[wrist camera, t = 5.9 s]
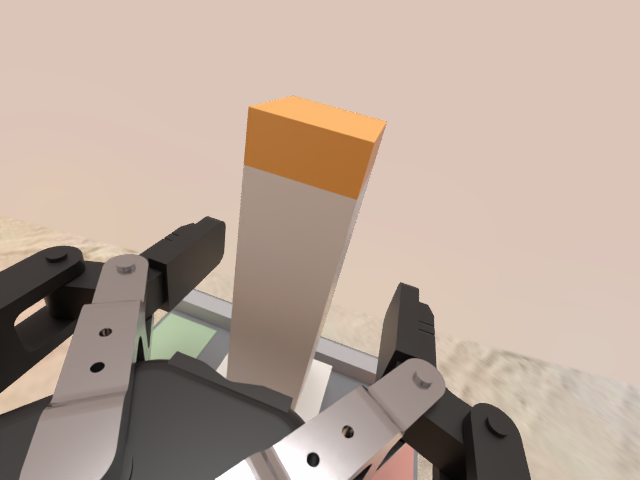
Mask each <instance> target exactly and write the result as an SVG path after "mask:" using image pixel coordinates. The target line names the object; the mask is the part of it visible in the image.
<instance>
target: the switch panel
mask: <svg viewBox="0 0 640 480" xmlns="http://www.w3.org/2000/svg"><path fill="white" fill-rule="evenodd" d="M231 315H232V303H231V302H228V301H225V300H223V299H220V298H217V297H215V296H212V295H209V294H207V293H204V292H201V291H199V290H196V289H193V290H192V291H191V292H190V293H189V294H188V295H187V296H186V297H185V298H184V299H183V300H182V301H181V302H180V303H179V304H178V305H177V306H176V307H175V308H174V309H173V310H172V311H171V312H168V313H167V314H166V315H165V316H164V317H163V318H162V319H161V320H160V321H159V322H158V323H157V324H156V325H155V326H154V327H153V334H152V346H151V360H154V359H169V360H170V359H171V357H172V356H173V355H174V354H175V353H176V352H177V351H179V352H181V353H183V354H186V355H188V356H191V357H193V358H196V359H198V360H201V361H203V362H205V363H206V364H208V365H209V366H210V367H212V368H213V369H214V370H215V371H216V370H217V369H218V367H219V366H220V364H221V363H222V361H223V360H224V358H225V357H226V355H227V354H228V352H229V340H230V327H231ZM314 359H315V360H318V361H320V362H323V363H325V364H328V365H331V366H332V369H331V373H330V376H329V380H328V383H327V386H326V390H325V393H324V397H323V400H322V403H321V407H320V410H319V414H320V413H321V412H323V411H324V410H325V409H327V408H328V407H330V406H331V405H333V404H334V403H336V402H337V401H338V400H340V399H341V398H343V397H344V396H346V395H347V394H349V393H350V392H351V391H353V390H354V389H356V388H357V387H359V386H365V387H366V388H368V387H370V386H371V385H373V384H374V383H375V378H376V371H377V364H378V358H377V357H375V356H372V355H369V354H367V353H364V352H361V351H359V350H356V349H353V348H351V347H348V346H345V345H343V344H340V343H337V342H335V341H332V340H329V339H327V338H324V337H321V336H320V339H319V343H318V346H317V349H316V352H315V356H314ZM371 480H417V451H416V450H414V449H413V448H412V447H411V446H409V445H408V444H406V445H405V446H404V447H403V448H402V449H401V450H400V451H399V452H398V453H397V454H396V455H395V456H394V457H393V458H392V459H391V460H390V461H389V462H388V463H387V464H386V465H385V466H384V467H383V468H382V469H381V470H380V471H379V472H378V473H377V474H376V475H375V476H374V477H373V478H372V479H371Z"/></svg>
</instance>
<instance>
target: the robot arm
mask: <svg viewBox="0 0 640 480" xmlns="http://www.w3.org/2000/svg"><path fill="white" fill-rule="evenodd" d="M225 228H226V226H225V223H224V222H223V221H220V220H217V219H214V218H211V217H208V216H207V217H205V218H203V219H202V220H201V221H199V222H198V223H196V224H194V223H191V224H188V225H185V226H182V227H180V228H178V229H177V230H175V231H174V232H172V234H169V235H168V236H166V237H165V239H162V240H161V241H159V242H158V243H156V244H155V245H153V246H152V247H150V248H149V249H147V250H146V251H144V252H143V253H141V254H140V255H134V254H125V255H120V256H116V257H113V258H111V259H110V260H108V261H107V262H106V263H102V262H93V261H84V259H83V255H82V252H81V251H80V250H79V249H78V248H75V247H71V246H56V247H51V248H47V249H44V250H42V251H40V252H38V253H36V254H34V255H32V256H30V257H28V258H26V259H24V260H22V261H20V262H18V263H16V264H15V265H13V266H11V267H9V268H7V269H5V270H3V271H1V272H0V393H1V392H2V391H4V390H5V389H6V388H7V387H8V386H10V385H11V384H12V383H13V382H15V381H16V380H17V379H18V378H20V377H21V376H22V375H23V374H24V373H26V372H27V371H28V370H29V369H31V368H32V367H33V366H34V365H35V364H37V363H38V362H39V361H40V360H42V359H43V358H44V357H45V356H47V355H48V354H49V353H50V352H51V351H53V350H54V349H55V348H56V347H58V346H59V345H60V344H61V343H62V342H64V341H65V340H66V339H67V338H69V337H70V336H71V335H72V334H73V337H72V340H71V343H70V346H69V349H68V352H67V355H66V358H65V361H64V364H63V367H62V370H61V373H60V377H59V380H58V383H57V386H56V389H55V392H54V394H53V395H50V396H48V397H45V398H43V399H40V400H37V401H35V402H32V403H30V404H27V405H24V406H22V407H19V408H17V409H14V410H11V411H9V412H6V413H4V414H1V415H0V480H371V479H372V478H373V477H374V476H375V475H376V474H377V473H378V472H379V471H380V470H381V469H382V468H383V467H384V466H385V465H386V464H387V463H388V462H389V461H390V460H391V459H392V458H393V457H394V456H395V455H396V454H397V453H398V452H399V451H400V450H401V449H402V448H403V447H404V446H405V445H406V444H408V445H409V446H411V447H412V448H413V449H414V450H416V451H417V452H418V453H419V454H421V455H422V456H423V457H424V458H426V459H427V460H428V461H429V462H431V463H432V464H433V480H531V477H530V473H529V469H528V465H527V461H526V456H525V452H524V448H523V444H522V439H521V436H520V433H519V431H518V429H517V427H516V425H515V424H514V422H513V421H512V420H511V419H510V418H509V417H508V416H507V415H506V414H505V413H504V412H503V411H501V410H500V409H498V408H497V407H495V406H493V405H490V404H487V403H479V404H476V405H475V406H474V407H471V406H470V405H468V404H467V403H465V402H464V401H462V400H461V399H459V398H458V397H456V396H455V395H454V394H452V393H451V392H450V391H449V390H448V389H447V388H446V387H445V381H444V379H443V377H442V375H441V373H440V372H439V371H438V370H437V368H436V349H435V336H434V335H435V330H434V315H433V313H432V311H431V310H430V308H429V306H428V305H427V304H424V303H421V302H419V289H418V288H416V287H413V286H410V285H407V284H404V283H401V282H400V284H399V285H398V287H397V290H396V292H395V294H394V296H393V299H392V301H391V303H390V305H389V308H388V310H387V312H386V315H385V319H384V323H383V329H382V336H381V343H380V350H379V357H378V364H377V371H376V378H375V383H374V384H373V385H371V386H370V387H368V388H366V387H365V386H359V387H357V388H356V389H354V390H353V391H351V392H350V393H349V394H347V395H346V396H344V397H343V398H341V399H340V400H338V401H337V402H336V403H334V404H333V405H331V406H330V407H328V408H327V409H325V410H324V411H323V412H321V413H320V414H318V415H317V416H315V417H314V418H312V419H311V420H310V421H308V422H307V423H305V422H304V420H303V419H302V418H301V417H300V416H299V415H298V414H297V413H296V412H295V411H294V410H292V409H291V408H290V407H291V404H292V400H293V398H292V397H290V396H287V395H285V394H282V393H280V392H277V391H275V390H272V389H270V388H267V387H265V386H260V385H253V384H246V383H239V382H232V381H229V380H227V379H226V378H224V377H223V376H222V375H221V374H219V373H218V372H217V371H215V370H214V369H213V368H212V367H210V366H209V365H208V364H206V363H205V362H203V361H201V360H198V359H196V358H193V357H191V356H188V355H186V354H183V353H181V352H179V351H177V352H176V353H175V354H174V355H173V356H172V357H171V359H170V360H169V359H154V360H151V346H152V334H153V323H154V312H155V311H156V310H157V309H162V310H164V311H167V312H171V311H172V310H173V309H174V308H175V307H176V306H177V305H178V304H179V303H180V302H181V301H182V300H183V299H184V298H185V297H186V296H187V295H188V294H189V293H190V292H191V291H192V290H193V289H194V288H195V287H196V286H197V285H198V284H199V283H200V282H201V281H202V280H203V279H204V278H205V277H206V276H207V275H208V274H209V273H210V272H211V271H212V270H213V269H214V268H215V267H216V266H217V265H218V264H219V263H220V261H221V260H222V257H223V254H224V246H225V245H224V244H225ZM43 298H44V300H45V303H46V306H44V307H43V308H41V309H40V310H38V311H37V312H35V313H34V314H33V315H31V316H30V317H28V318H27V319H25V320H24V321H22V322H21V323H19V324H18V325H16V326H15V327H14V323H15V320H16V318H17V317H18V316H19V314H20V313H22V312H23V311H24V310H26V309H27V308H29V307H30V306H32V305H34V304H35V303H37V302H38V301H40V300H41V299H43Z"/></svg>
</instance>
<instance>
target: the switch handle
mask: <svg viewBox="0 0 640 480" xmlns="http://www.w3.org/2000/svg"><path fill="white" fill-rule="evenodd" d="M386 122H387V121H383V120H379V119H376V118H372V117H368V116H365V115H361V114H358V113H354V112H350V111H347V110H343V109H340V108H336V107H332V106H329V105H325V104H321V103H318V102H314V101H310V100H307V99H303V98H299V97H296V96H290V97H286V98H282V99H278V100H274V101H270V102H266V103H262V104H258V105H254V106H249V109H248V121H247V133H246V145H245V157H244V169H243V181H242V193H241V194H242V195H241V207H240V218H239V230H238V243H237V255H236V267H235V279H234V291H233V303H232V315H231V327H230V340H229V352H228V354H227V355H226V357H225V358H224V360H223V361H222V363H221V364H220V366H219V367H218V369H217V370H216V371H217V372H218V373H219V374H221V375H222V376H223V377H224V378H226V379H227V380H229V381H232V382H239V383H246V384H253V385H260V386H265V387H267V388H270V389H272V390H275V391H277V392H280V393H282V394H285V395H287V396H290V397H292V398H293V400H292V404H291V407H290V408H291V409H292V410H294V411H295V412H296V413H297V414H298V415H299V416H300V417H301V418H302V419H303V420H304V422H305V423H307V422H308V421H310V420H311V419H312V418H314V417H315V416H317V415H318V414H319V410H320V407H321V403H322V400H323V397H324V393H325V390H326V386H327V383H328V380H329V376H330V373H331V369H332V366H331V365H328V364H325V363H323V362H320V361H318V360H315V359H314V356H315V352H316V349H317V346H318V343H319V339H320V336H321V333H322V330H323V327H324V323H325V320H326V317H327V314H328V310H329V307H330V304H331V301H332V297H333V294H334V291H335V287H336V284H337V281H338V278H339V275H340V271H341V268H342V265H343V262H344V259H345V255H346V252H347V249H348V246H349V242H350V239H351V236H352V232H353V230H354V226H355V223H356V220H357V217H358V213H359V210H360V207H361V204H362V200H363V197H364V194H365V191H366V188H367V184H368V181H369V178H370V175H371V172H372V168H373V165H374V162H375V159H376V155H377V152H378V149H379V146H380V142H381V139H382V135H383V133H384V130H385V126H386Z"/></svg>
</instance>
